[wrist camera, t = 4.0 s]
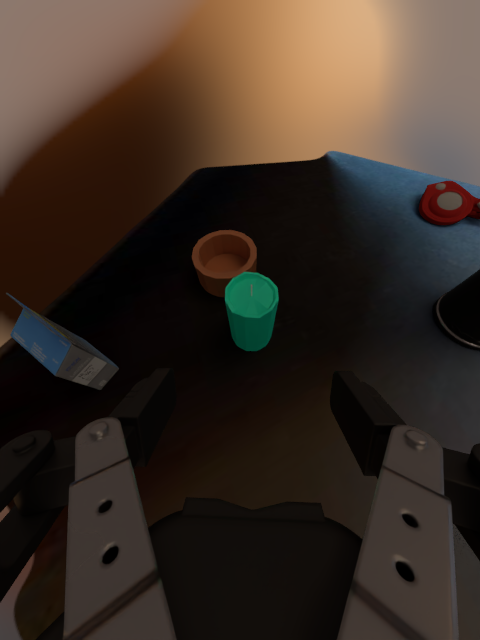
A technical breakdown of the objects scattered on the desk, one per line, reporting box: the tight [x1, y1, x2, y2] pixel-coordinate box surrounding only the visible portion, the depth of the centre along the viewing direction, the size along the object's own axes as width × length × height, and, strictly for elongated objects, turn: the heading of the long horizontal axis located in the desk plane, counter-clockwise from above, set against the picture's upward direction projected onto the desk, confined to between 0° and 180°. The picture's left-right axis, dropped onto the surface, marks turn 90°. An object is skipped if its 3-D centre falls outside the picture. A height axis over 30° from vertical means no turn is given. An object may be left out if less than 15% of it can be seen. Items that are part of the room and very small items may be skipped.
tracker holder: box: [419, 181, 480, 225], centre depth 43 cm, size 12×4×10 cm
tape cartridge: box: [6, 293, 119, 390], centre depth 27 cm, size 9×4×12 cm, turn 56°
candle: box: [225, 272, 279, 351], centre depth 29 cm, size 6×6×12 cm
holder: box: [192, 230, 257, 297], centre depth 37 cm, size 10×10×5 cm
